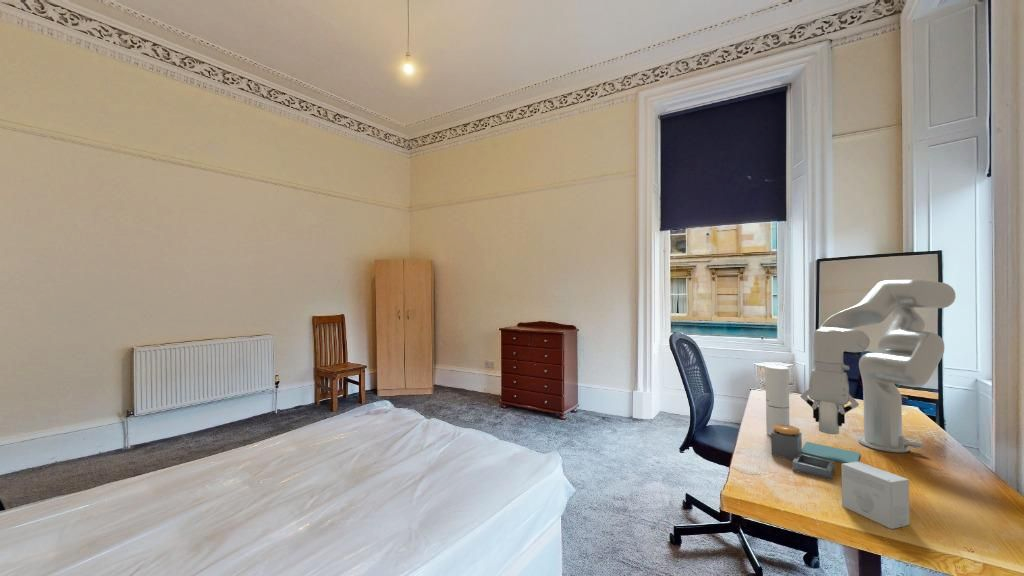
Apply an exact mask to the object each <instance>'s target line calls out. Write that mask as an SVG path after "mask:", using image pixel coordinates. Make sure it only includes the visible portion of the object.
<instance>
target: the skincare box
mask: <svg viewBox="0 0 1024 576" xmlns="http://www.w3.org/2000/svg"><path fill="white" fill-rule="evenodd" d="M840 464H841V466H840V467H841V506H842V508H845V509H847V510H850V511H853V512H854V513H856V514H858V515H860V516H862V517H865V518H867V519H869V520H871V521H873V522H875V523H877V524H879V525H882V526H884V527H886V528H888V529H891V530H893V529H894V530H895V529H898V528H902V527H905V526H909V525H911V522H910V521H911V520H910V518H911V517H910V479H909V478H906V477H903V476H900V475H898V474H894V473H893V472H889V471H886V470H883V469H880V468H877V467H876V466H872V465H869V464H866V463H865V462H861V461H858V462H851V463H840Z"/></svg>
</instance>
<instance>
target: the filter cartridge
mask: <svg viewBox="0 0 1024 576" xmlns="http://www.w3.org/2000/svg"><path fill="white" fill-rule="evenodd" d="M818 409H819V422H818V431H819V432H821V433H825V434H828V435H840V426H838V413H839V411H840V410H839V408H838V405H837V404H835V403H831V402H825V401H819V403H818Z"/></svg>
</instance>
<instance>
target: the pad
mask: <svg viewBox="0 0 1024 576" xmlns="http://www.w3.org/2000/svg"><path fill="white" fill-rule="evenodd" d="M802 454H804V455H808V456H813V457H817V458H821V459H826V460H830V461H834V463H835V462H836V463H840V464H844V463H851V462H860V457H861V453H860V452H857V451H853V450H848V449H843V448H839V447H834V446H829V445H825V444H821V443H816V442H811V441H806V442H805V443H804V444H803V445H802Z"/></svg>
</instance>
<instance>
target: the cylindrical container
mask: <svg viewBox="0 0 1024 576" xmlns="http://www.w3.org/2000/svg"><path fill="white" fill-rule="evenodd" d="M764 369H765V416H766V417H765V420H766V422H765V423H766V425H765V426H766V427H765V429H766V430H765V431H766V432H767V433H766V434H767V435H768V434H769V435H768V436H770V435H771V433H772V432H773V430H774V429H773V426H774V425H776V424H784V425H790V383H789V382H790V376H789V375H790V373H789V372H790V371H789V370H790V369H789V367H787V366H784V365H783V366H782V365H774V364H773V365H765V368H764ZM790 426H791V425H790Z"/></svg>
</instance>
